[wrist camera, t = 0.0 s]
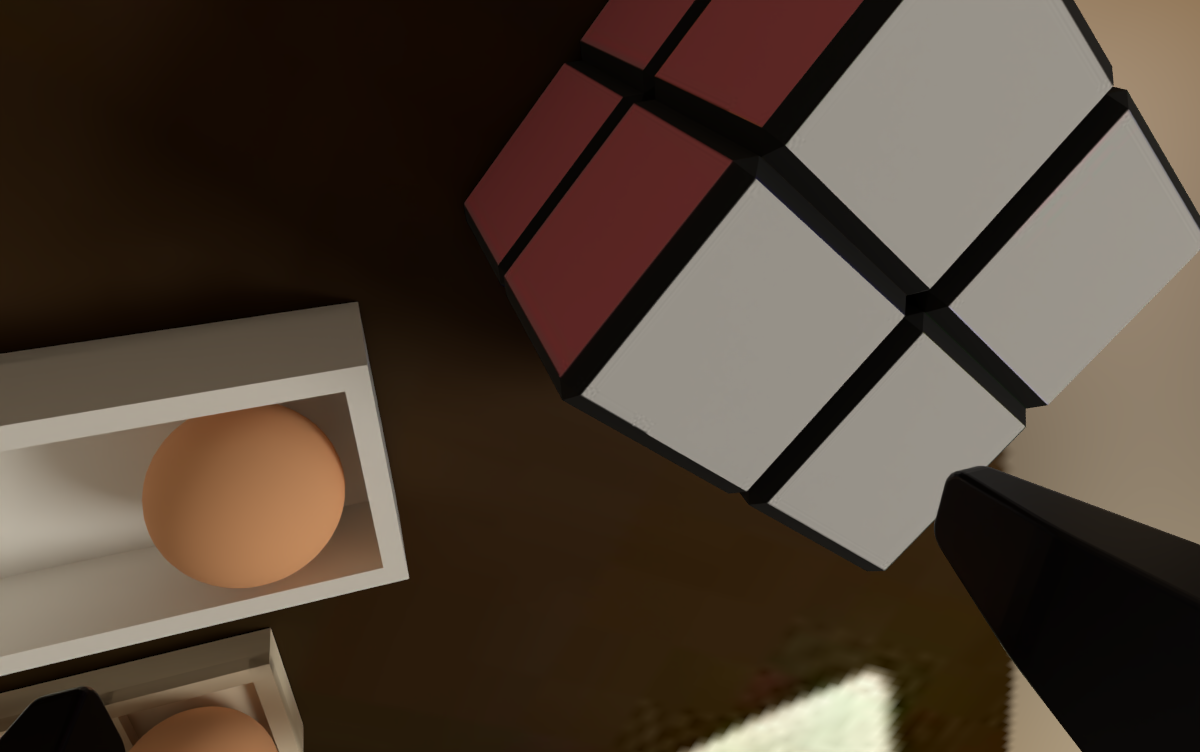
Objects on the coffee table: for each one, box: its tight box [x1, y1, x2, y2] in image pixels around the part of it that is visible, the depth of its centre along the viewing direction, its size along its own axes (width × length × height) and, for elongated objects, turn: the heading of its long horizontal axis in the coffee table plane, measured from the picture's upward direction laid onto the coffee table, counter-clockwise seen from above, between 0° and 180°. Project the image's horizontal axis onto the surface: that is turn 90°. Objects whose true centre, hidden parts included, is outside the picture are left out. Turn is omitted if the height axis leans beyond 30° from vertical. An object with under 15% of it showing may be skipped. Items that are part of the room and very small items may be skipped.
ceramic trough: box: [0, 302, 409, 676], centre depth 20 cm, size 7×12×4 cm, turn 91°
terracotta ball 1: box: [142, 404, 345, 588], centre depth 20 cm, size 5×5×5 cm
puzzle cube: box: [463, 0, 1200, 571], centre depth 18 cm, size 10×10×10 cm
